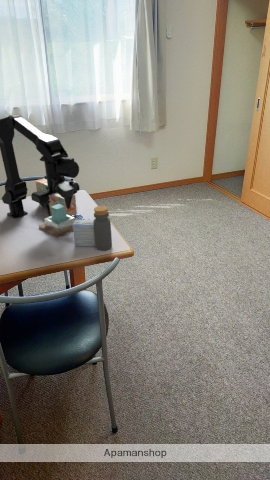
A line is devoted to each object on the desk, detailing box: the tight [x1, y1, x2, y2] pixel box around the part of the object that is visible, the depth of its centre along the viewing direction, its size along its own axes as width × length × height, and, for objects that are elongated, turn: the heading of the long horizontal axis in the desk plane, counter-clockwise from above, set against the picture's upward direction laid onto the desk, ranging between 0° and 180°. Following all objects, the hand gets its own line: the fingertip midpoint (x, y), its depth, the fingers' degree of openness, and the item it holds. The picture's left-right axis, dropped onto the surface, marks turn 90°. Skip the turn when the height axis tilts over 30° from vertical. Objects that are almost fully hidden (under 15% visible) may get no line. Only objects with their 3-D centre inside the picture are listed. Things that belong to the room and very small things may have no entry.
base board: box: [38, 223, 73, 238], centre depth 141 cm, size 12×12×1 cm
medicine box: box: [72, 219, 96, 247], centre depth 127 cm, size 8×4×9 cm, turn 88°
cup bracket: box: [43, 214, 76, 232], centre depth 141 cm, size 8×8×3 cm
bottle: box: [93, 205, 113, 252], centre depth 123 cm, size 6×6×15 cm
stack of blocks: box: [35, 178, 78, 217], centre depth 155 cm, size 21×6×12 cm, turn 44°
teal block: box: [50, 204, 67, 223], centre depth 139 cm, size 4×4×8 cm
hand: (58, 212), depth 139 cm, fingers open, 9 cm apart
